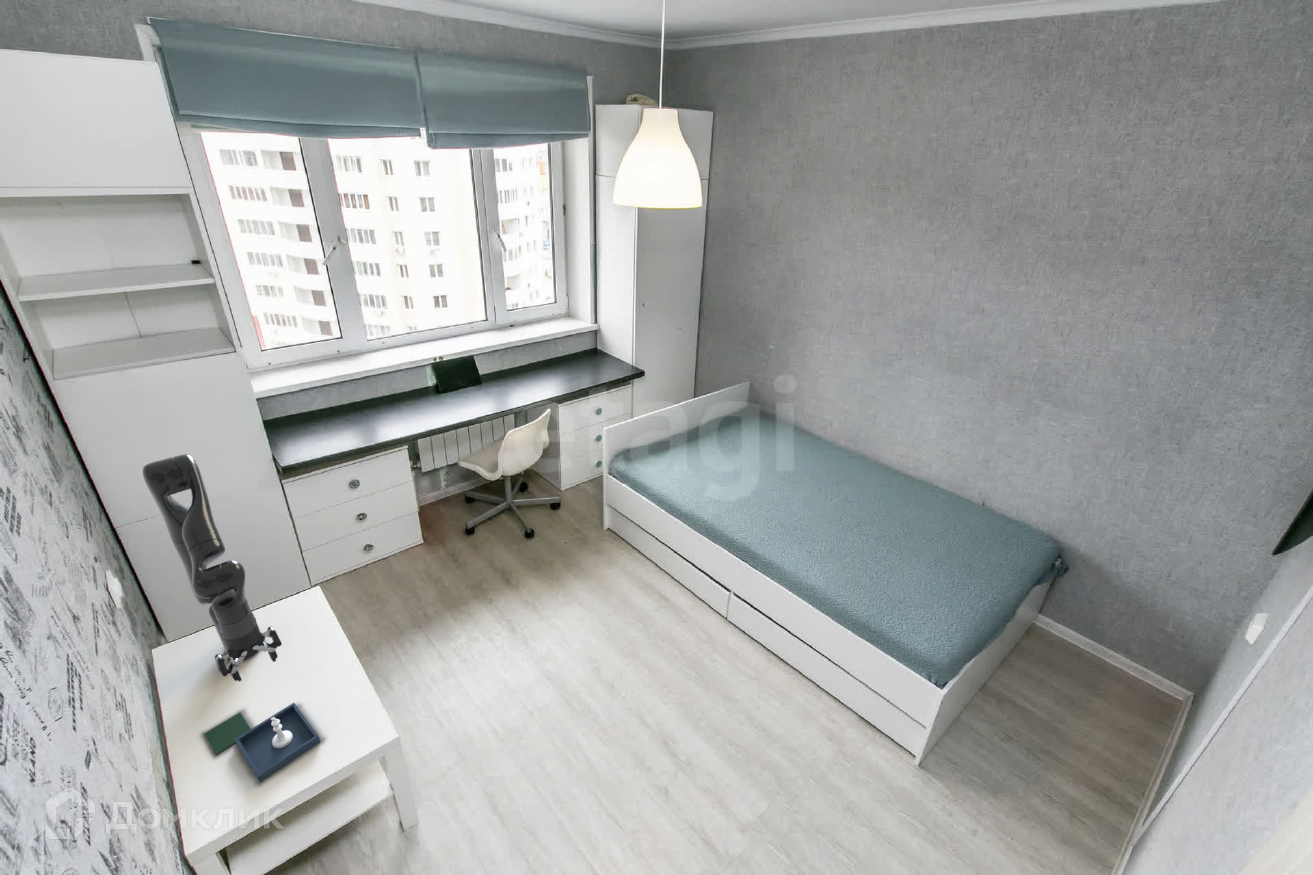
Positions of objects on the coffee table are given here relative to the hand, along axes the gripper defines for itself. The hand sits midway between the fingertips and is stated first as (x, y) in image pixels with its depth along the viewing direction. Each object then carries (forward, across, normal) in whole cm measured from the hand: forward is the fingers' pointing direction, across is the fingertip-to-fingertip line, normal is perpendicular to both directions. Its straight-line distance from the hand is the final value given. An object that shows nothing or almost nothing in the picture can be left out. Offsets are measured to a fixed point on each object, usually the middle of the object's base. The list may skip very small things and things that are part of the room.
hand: (256, 669), depth 161 cm
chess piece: (+22, +2, +8) cm, 23 cm away
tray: (+22, +3, +8) cm, 23 cm away
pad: (+21, +11, -5) cm, 24 cm away
